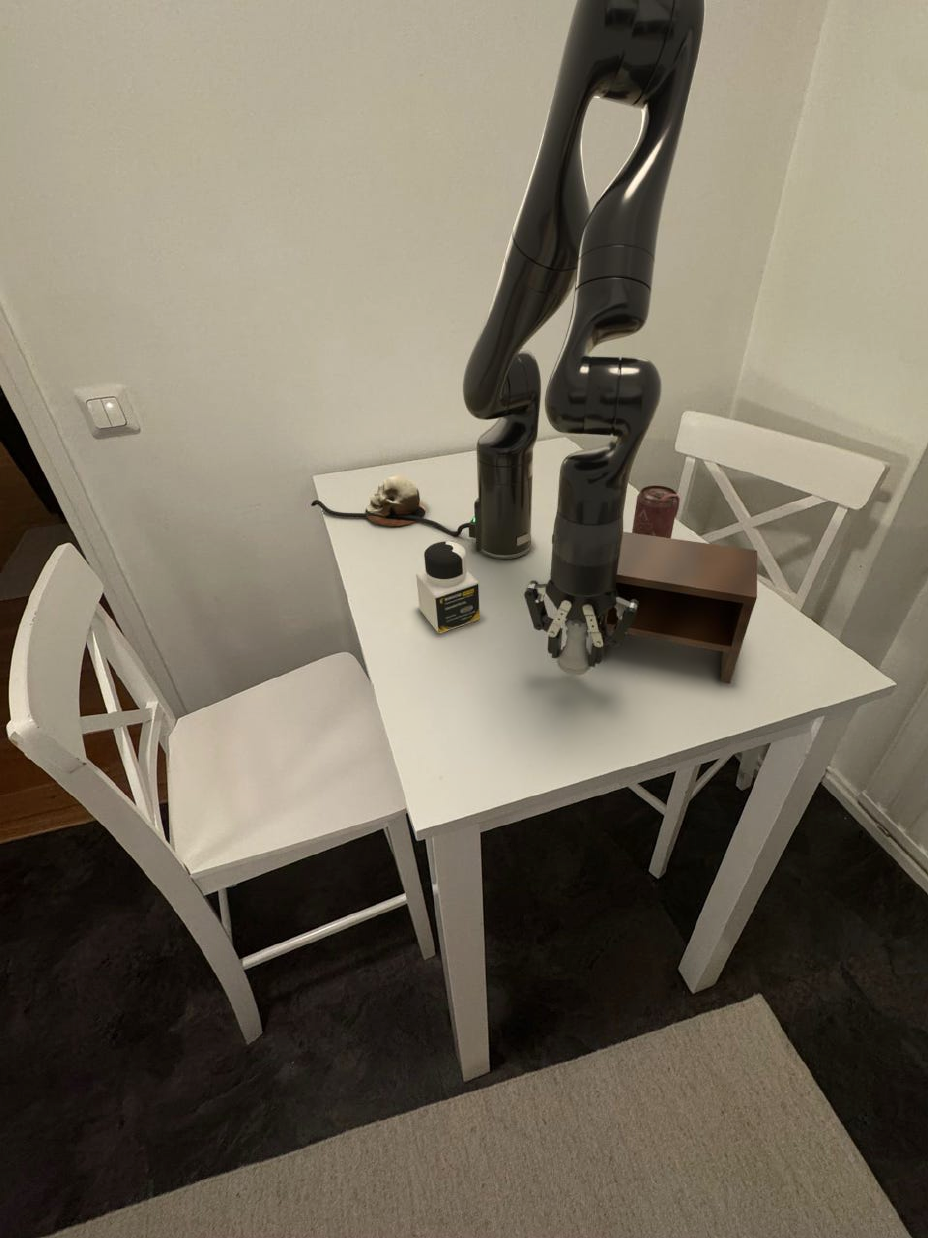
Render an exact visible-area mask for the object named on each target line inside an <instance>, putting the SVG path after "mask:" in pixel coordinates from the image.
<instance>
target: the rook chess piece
mask: <svg viewBox="0 0 928 1238" xmlns="http://www.w3.org/2000/svg"><path fill="white" fill-rule="evenodd" d="M564 625H565V627H566V628H567V629H566V631H565V635H566V639H565V640H566V641H565V644H564V645H563V646H562V647H561V650H560V652H559V655H558V658H557V659H556V663H557V667H558V668H559V669H560V670H561V671H562V672H563V673H564V674H566V675H569V676H574V677H575V676H582V675H585V674H586V673H587V672H589V670H590V669H591V668H592V667H591V666H589V663H590V655H591V651H589V648H588V644H587V638H589V634H590V633H589V629H588V625H587V623H585V622H582V621H579V620H570V619H565V620H564Z"/></svg>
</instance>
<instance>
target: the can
mask: <svg viewBox="0 0 928 1238" xmlns="http://www.w3.org/2000/svg"><path fill="white" fill-rule="evenodd" d="M680 500H681V498H680V496H679V495H678V494H677V492H676V491H675V490H674V489H672V487H668V486H664V485H655V484H654V485H648V486H644V487H642V488H641V490H640V492H639V493H638V494H637V496H636V503H635V510H634V516H633V522H632V529H631V530H632V531H631V533H636V534H643V535H650V536H657V537H665V538H672V535H673V529H674V524H675V520H676V517H677V516H678V513H679V508H680Z"/></svg>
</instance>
